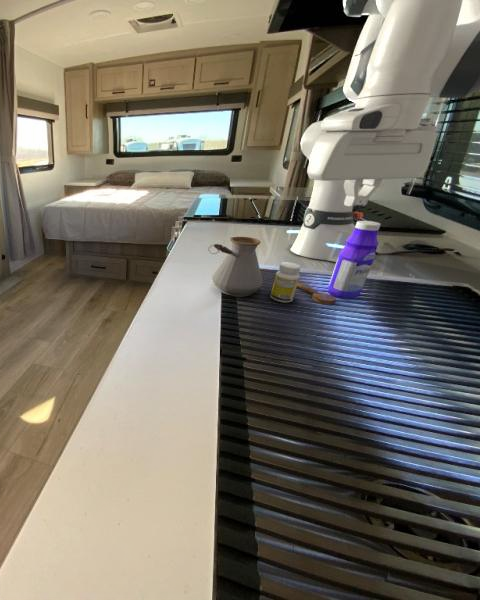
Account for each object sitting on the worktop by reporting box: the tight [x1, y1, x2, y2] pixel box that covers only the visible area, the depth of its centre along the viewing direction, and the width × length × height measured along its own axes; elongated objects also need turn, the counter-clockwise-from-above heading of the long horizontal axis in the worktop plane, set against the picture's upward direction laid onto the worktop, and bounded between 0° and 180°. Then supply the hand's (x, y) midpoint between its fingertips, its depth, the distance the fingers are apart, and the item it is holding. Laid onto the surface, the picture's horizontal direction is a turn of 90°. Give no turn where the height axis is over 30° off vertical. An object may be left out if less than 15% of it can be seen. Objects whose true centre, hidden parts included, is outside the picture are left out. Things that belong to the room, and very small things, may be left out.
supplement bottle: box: [270, 261, 301, 303], centre depth 76 cm, size 5×5×8 cm
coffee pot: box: [208, 236, 264, 298], centre depth 76 cm, size 21×12×15 cm, turn 132°
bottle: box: [327, 220, 382, 300], centre depth 76 cm, size 7×6×17 cm
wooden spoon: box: [297, 281, 337, 306], centre depth 82 cm, size 17×4×1 cm, turn 8°
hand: (354, 205), depth 59 cm, fingers closed
